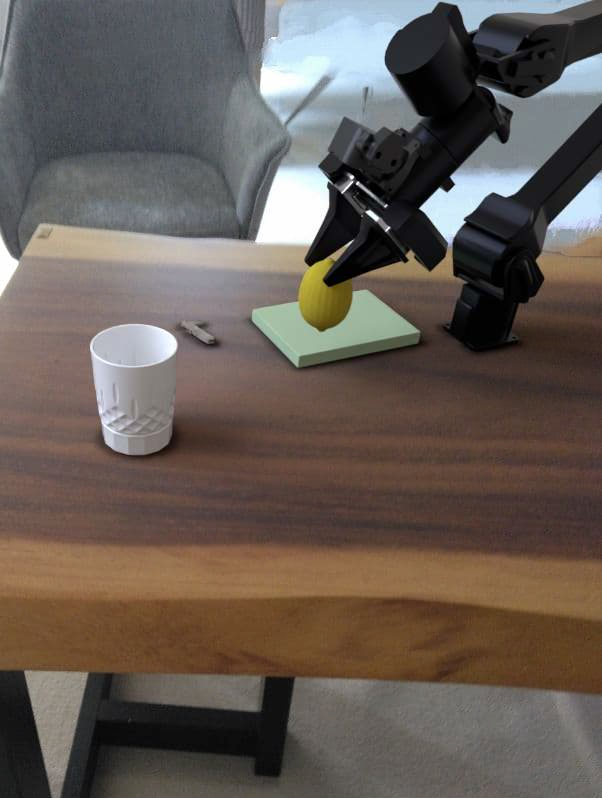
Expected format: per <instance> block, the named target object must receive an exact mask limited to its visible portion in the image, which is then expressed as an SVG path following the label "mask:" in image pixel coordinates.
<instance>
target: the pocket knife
mask: <svg viewBox="0 0 602 798" xmlns="http://www.w3.org/2000/svg"><path fill="white" fill-rule="evenodd" d="M203 324H205V322H204V321H192V320H191V321H190V320H186V319H185V320H181V325H180V326H181V327H183V328H184V329H186V333H187V334H189V335H193V336H194V337H196V338H197V339H199V340H201V342H204V343H205V344H209V345H211V344H214V343H215V337H214V336H213V335H212V334H210V333H208V332H206V331H205V330H204V329H202V328H201V327H199V326H202V325H203Z"/></svg>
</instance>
